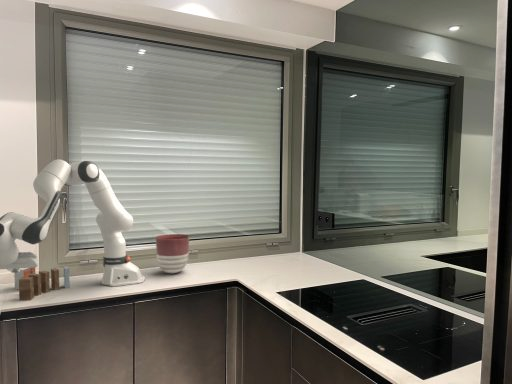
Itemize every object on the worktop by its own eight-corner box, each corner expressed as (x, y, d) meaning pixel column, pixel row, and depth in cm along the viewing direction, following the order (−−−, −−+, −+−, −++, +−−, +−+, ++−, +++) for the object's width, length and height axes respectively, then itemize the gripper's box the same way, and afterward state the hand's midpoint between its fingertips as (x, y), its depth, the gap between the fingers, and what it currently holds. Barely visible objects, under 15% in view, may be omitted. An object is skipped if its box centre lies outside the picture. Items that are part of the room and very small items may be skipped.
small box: (23, 290, 187) (23, 269, 186) (14, 289, 188) (13, 269, 188) (36, 285, 195) (35, 265, 194) (27, 285, 196) (26, 265, 195)
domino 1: (30, 300, 173) (30, 278, 172) (19, 300, 172) (18, 279, 172) (33, 297, 176) (33, 277, 175) (22, 298, 175) (22, 277, 175)
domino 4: (55, 290, 187) (54, 270, 187) (51, 288, 191) (50, 268, 190) (59, 289, 189) (58, 269, 189) (55, 287, 192) (55, 268, 192)
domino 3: (45, 292, 183) (45, 272, 183) (39, 291, 186) (38, 271, 185) (49, 291, 185) (49, 271, 185) (43, 290, 187) (42, 270, 187)
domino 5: (65, 288, 191) (64, 268, 190) (64, 285, 195) (63, 266, 195) (69, 287, 192) (69, 268, 191) (68, 285, 196) (68, 266, 196)
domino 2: (38, 295, 179) (37, 275, 178) (29, 295, 180) (28, 274, 179) (41, 294, 181) (40, 274, 180) (32, 293, 182) (31, 273, 181)
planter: (186, 267, 234) (186, 233, 233) (192, 275, 216) (192, 238, 215) (154, 269, 227) (154, 235, 226) (157, 278, 209) (157, 240, 208)
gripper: (36, 246, 156) (44, 263, 166) (-20, 248, 151) (-9, 266, 161) (33, 258, 152) (41, 276, 162) (-25, 261, 147) (-13, 279, 157)
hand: (16, 271), depth 162 cm, fingers closed
